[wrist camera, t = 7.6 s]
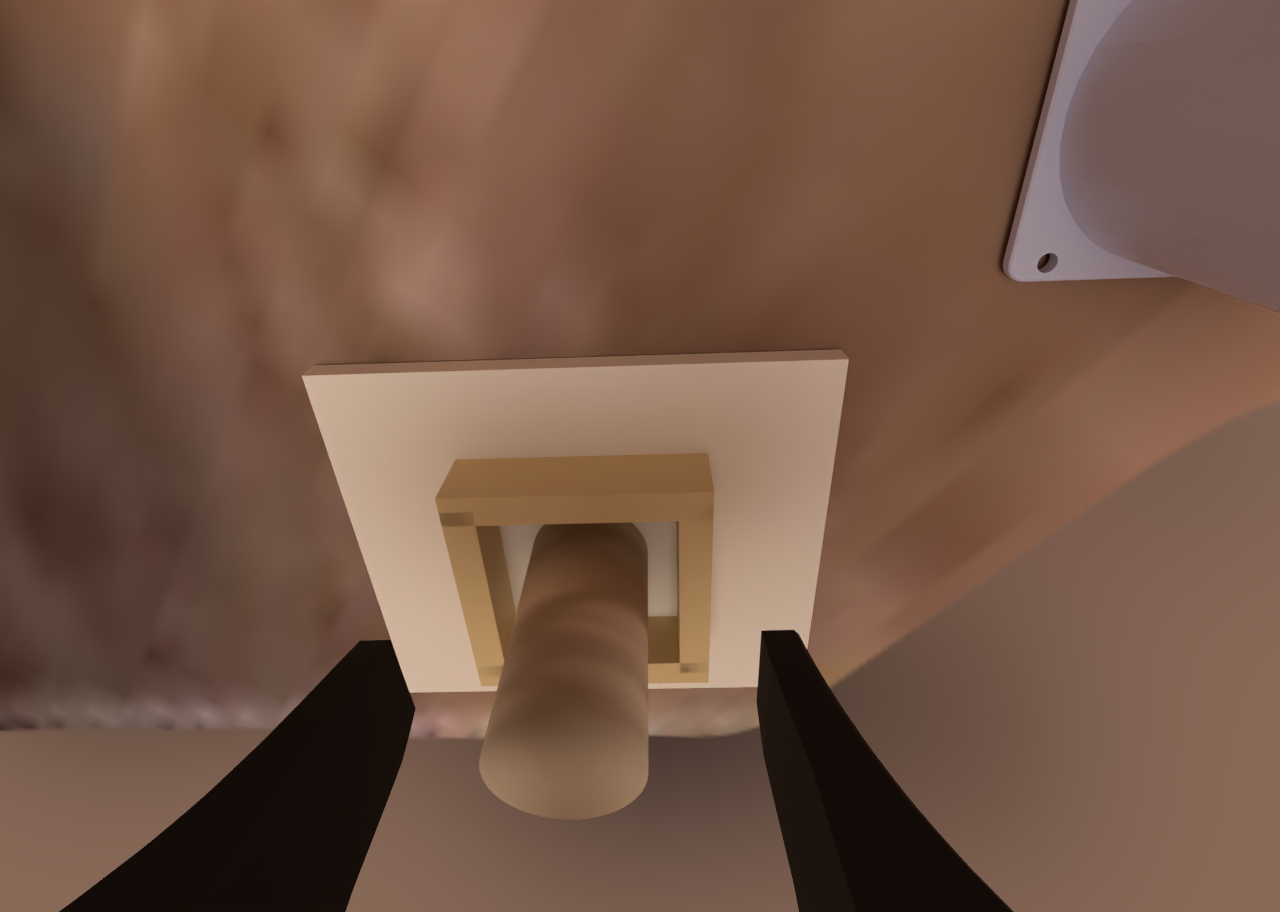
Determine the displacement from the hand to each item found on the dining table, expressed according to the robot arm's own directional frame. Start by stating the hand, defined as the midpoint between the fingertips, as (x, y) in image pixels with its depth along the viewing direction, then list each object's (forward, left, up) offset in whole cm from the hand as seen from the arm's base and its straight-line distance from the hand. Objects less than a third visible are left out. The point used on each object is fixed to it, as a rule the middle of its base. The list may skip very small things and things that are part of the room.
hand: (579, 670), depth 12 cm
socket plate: (+1, +4, -9) cm, 10 cm away
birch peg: (+1, +4, -9) cm, 9 cm away
